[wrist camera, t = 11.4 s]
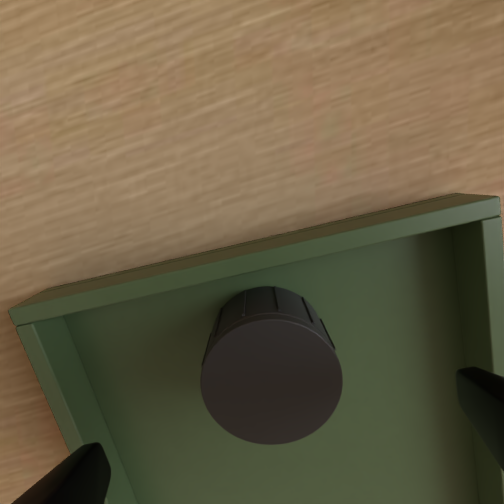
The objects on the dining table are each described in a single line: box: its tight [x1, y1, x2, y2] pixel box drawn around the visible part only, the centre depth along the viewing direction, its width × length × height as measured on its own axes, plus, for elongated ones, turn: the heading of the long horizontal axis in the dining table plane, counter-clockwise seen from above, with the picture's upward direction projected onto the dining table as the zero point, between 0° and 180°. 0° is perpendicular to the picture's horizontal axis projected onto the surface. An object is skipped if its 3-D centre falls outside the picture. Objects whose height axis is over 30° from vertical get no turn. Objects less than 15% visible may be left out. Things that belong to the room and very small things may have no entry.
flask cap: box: [200, 286, 343, 445], centre depth 10 cm, size 4×4×3 cm
